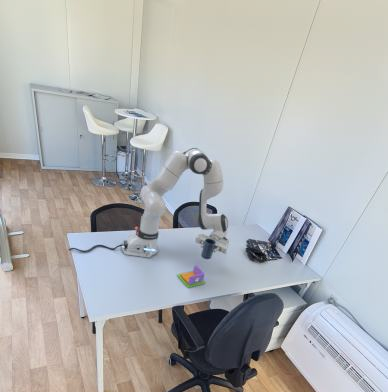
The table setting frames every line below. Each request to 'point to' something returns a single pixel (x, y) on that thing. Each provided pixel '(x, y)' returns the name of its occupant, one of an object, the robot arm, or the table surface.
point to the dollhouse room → (192, 277)
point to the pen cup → (208, 248)
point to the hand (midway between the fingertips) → (208, 248)
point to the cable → (254, 255)
